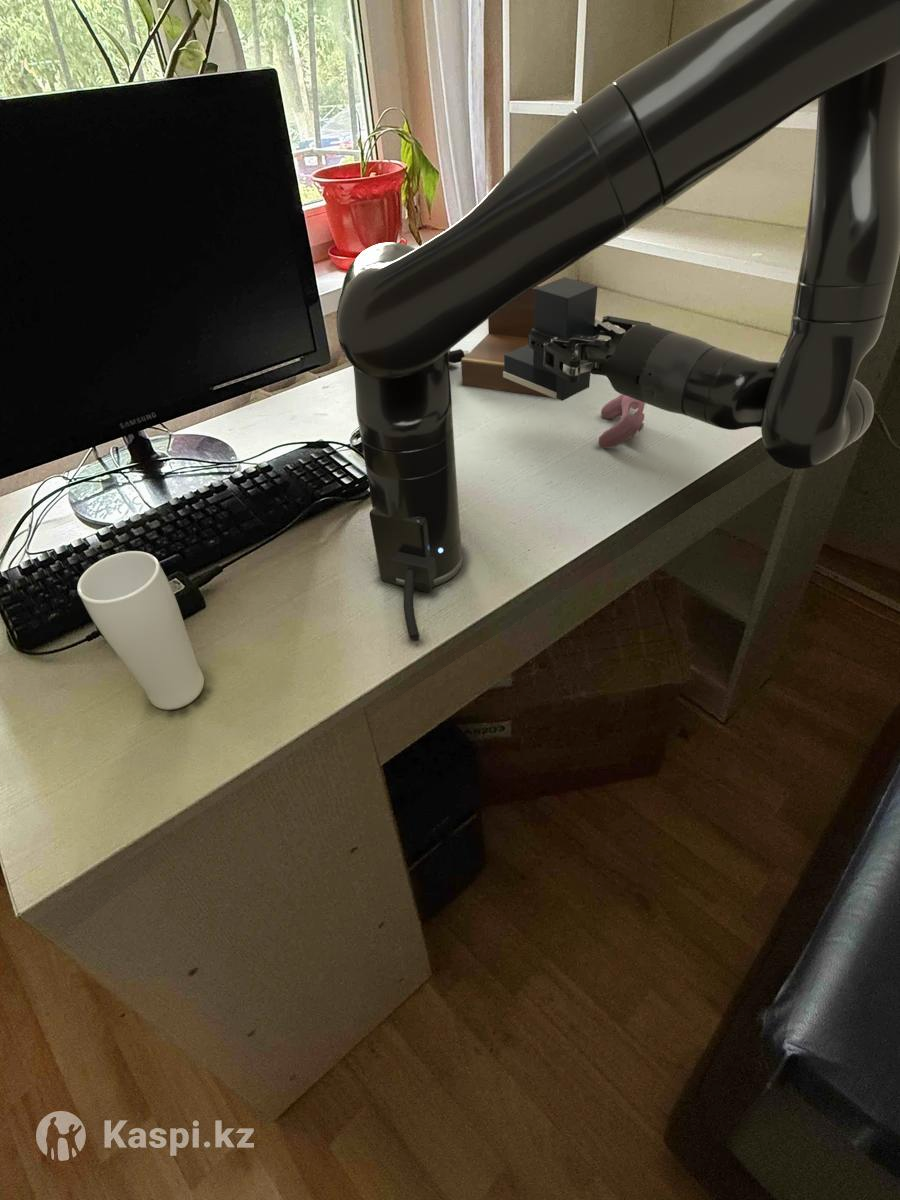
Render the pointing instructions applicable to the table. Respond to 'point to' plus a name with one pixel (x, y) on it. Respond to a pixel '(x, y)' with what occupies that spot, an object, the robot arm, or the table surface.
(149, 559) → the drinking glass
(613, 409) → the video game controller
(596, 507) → the table surface
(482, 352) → the wooden l-shaped stand
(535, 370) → the dark l-shaped block
